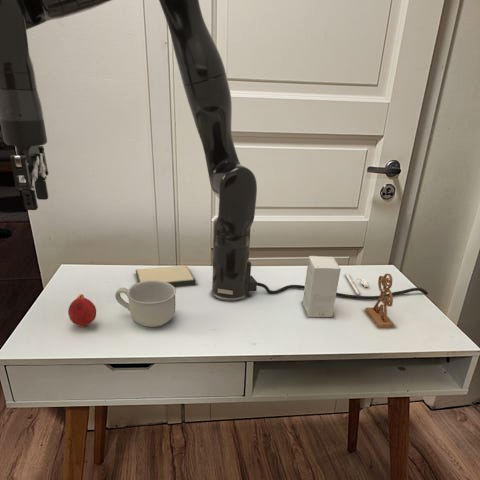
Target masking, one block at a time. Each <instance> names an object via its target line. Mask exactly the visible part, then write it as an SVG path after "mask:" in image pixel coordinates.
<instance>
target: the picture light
mask: <svg viewBox="0 0 480 480" xmlns="http://www.w3.org/2000/svg"><path fill="white" fill-rule="evenodd" d="M345 277H346V278H347V280H348V282H349V283H350V285H351V287H352V288H353V290H354V292H355V295H357V296H360V292H359V290H358V289H357V287H356V286H355V284H354V282H355V281H357V280H359V281H360V284H361V285H362V286H363V287H364V288H368V287H369V283H368V282H367V281H366V279H363V278H362V279H361V278H359V277H358V278H357V277H355V278H353V279H352V278H351V276H350V275H349V274H348V273H345Z"/></svg>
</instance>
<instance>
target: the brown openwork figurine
mask: <svg viewBox="0 0 480 480" xmlns="http://www.w3.org/2000/svg"><path fill="white" fill-rule="evenodd" d="M377 285H378V290H379V292H380V293H379V296H380V297H379V299H377V302H376V303H375V304H374V306H372V307H365V309H364V312H365V313H366V314H367V316H368V318H370V319H371V321H372V322H373V323H374V324H375V325H376V327H377V328H378V329H393V328H394V326H395V323H394V322H393V321H392V320H391V318H389V317H388V307H389V308H391V307H393V303H394V296H393V295H392V291H391V288H392V286H393V276H392V274H391V273H385V274H383V275H379V277H378V279H377ZM385 294H389V295H390V297H389V296H386V297H385ZM380 303H381V304H380ZM379 304H380V305H379Z"/></svg>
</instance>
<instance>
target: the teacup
mask: <svg viewBox="0 0 480 480" xmlns="http://www.w3.org/2000/svg"><path fill="white" fill-rule="evenodd" d="M121 293H122V294H124V295H126V297H127V299H128V302H127V301H126V300H124V299H123V298H122V296H121ZM176 294H177V289H176V287H174V286H172V285H171V284H169V283H167V282H164V281H154V280H151V281H143V282H139V283H138V282H137V283H134V284H133V285H131V286H130V287H129V288H126V287H119V288H118V289H117V290H116V291H115V294H114V298H115V300H116V302H117V303H119V305H121V306H122V307H124V308H125V309H127V310H128V312H129V314H130V316H131V318H132V320H133V321H135V322H136V323H138V324H139V325H141V326H144V327H147V328H157V327H161V326H164V325H165V324H167V323H168V322H170V321H171V320H172V319H173V318H174V315H175V313H176V308H177V307H176V304H177V303H176Z"/></svg>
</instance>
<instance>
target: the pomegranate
mask: <svg viewBox="0 0 480 480" xmlns="http://www.w3.org/2000/svg"><path fill="white" fill-rule="evenodd" d="M67 314H68V316H69V320H70V321H71V323H73V324H74V325H76V326H78V327H81V328H87V327H88V326H89V325H90V324H92V323H93V322H94V321H95V319H96V317H97V308H96V306H95V304H94V302H92V301H91V300H90V299H88V298H86V297H85V295H84V294H83V293H80V294H78V295H77V297H76V298H75V299H74V300H72V301H71V303H70V304H69V307H68V310H67Z"/></svg>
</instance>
